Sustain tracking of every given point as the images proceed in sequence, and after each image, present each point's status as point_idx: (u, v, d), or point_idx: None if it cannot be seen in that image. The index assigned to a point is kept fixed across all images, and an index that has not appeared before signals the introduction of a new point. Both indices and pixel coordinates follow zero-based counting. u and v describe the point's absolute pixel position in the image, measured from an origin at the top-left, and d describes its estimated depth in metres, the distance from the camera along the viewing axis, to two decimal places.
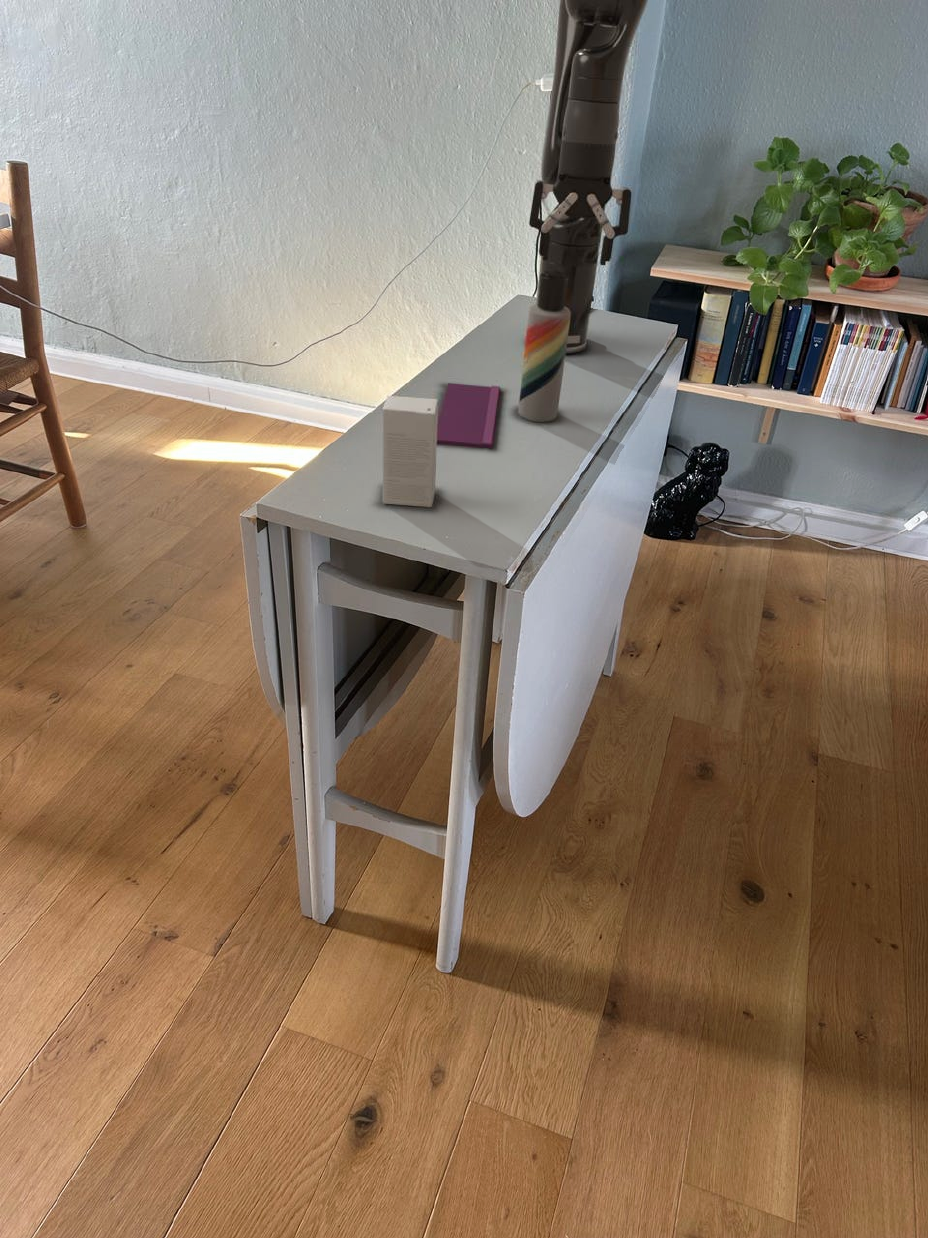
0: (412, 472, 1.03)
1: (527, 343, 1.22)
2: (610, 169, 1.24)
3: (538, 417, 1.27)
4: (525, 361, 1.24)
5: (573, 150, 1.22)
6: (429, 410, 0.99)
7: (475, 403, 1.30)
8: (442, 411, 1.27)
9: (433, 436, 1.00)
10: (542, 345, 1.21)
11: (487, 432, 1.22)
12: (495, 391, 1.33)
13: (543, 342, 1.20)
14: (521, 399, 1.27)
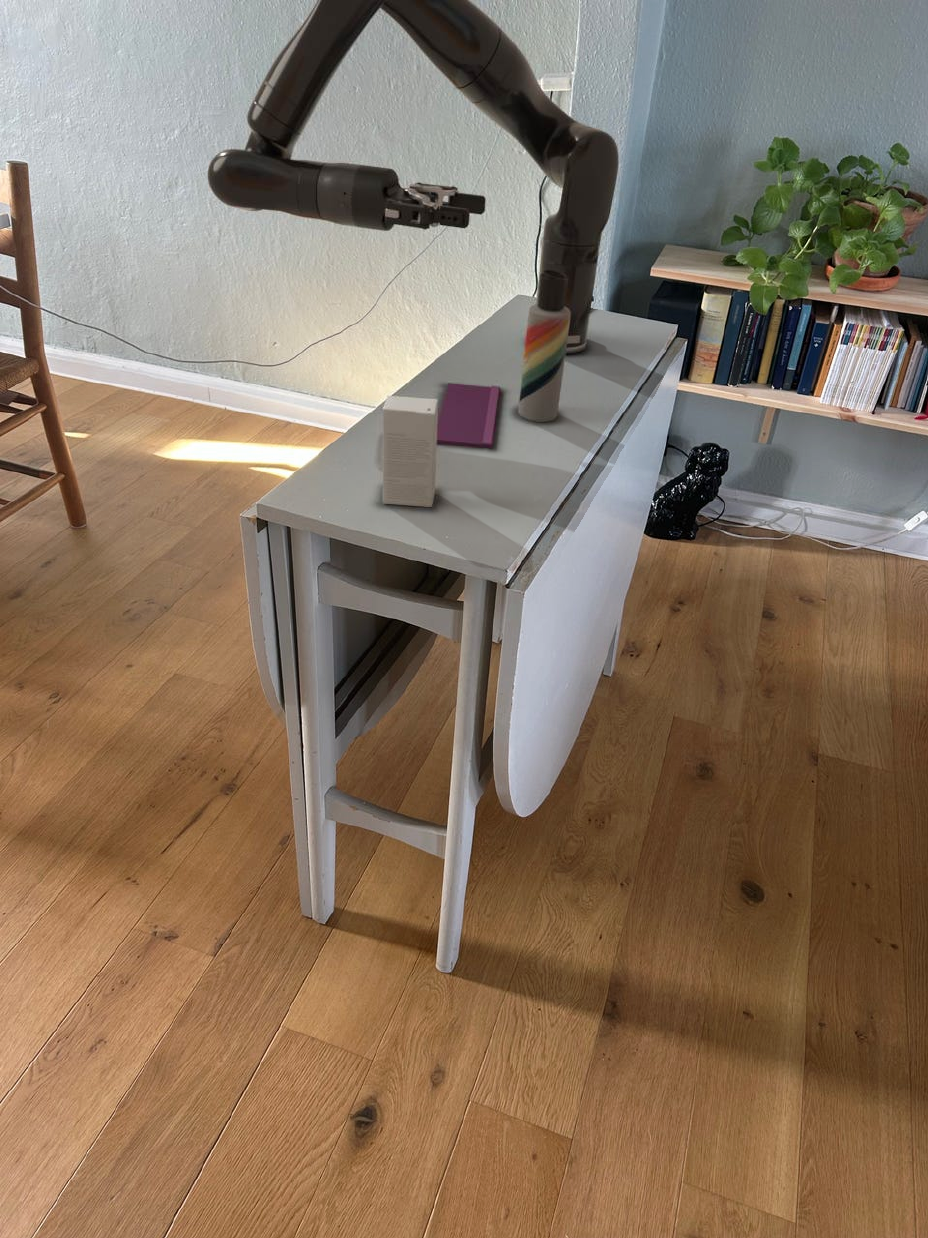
0: (412, 472, 1.03)
1: (527, 343, 1.22)
2: (374, 217, 1.16)
3: (538, 417, 1.27)
4: (525, 361, 1.24)
5: None
6: (429, 410, 0.99)
7: (475, 403, 1.30)
8: (442, 411, 1.27)
9: (433, 436, 1.00)
10: (542, 345, 1.21)
11: (487, 432, 1.22)
12: (495, 391, 1.33)
13: (543, 342, 1.20)
14: (521, 399, 1.27)
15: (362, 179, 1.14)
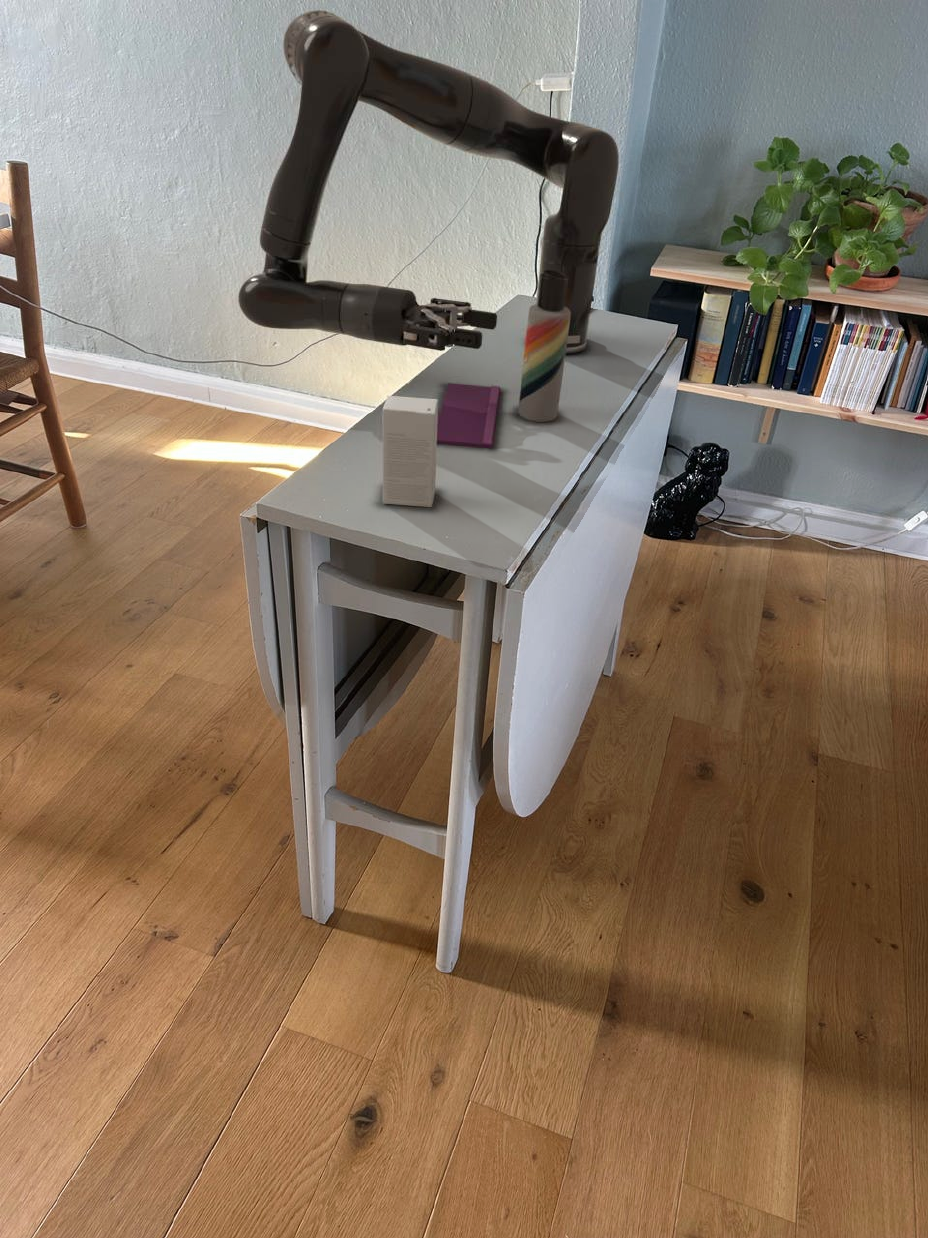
0: (412, 472, 1.03)
1: (527, 343, 1.22)
2: (394, 336, 1.25)
3: (538, 417, 1.27)
4: (525, 361, 1.24)
5: None
6: (429, 410, 0.99)
7: (475, 403, 1.30)
8: (442, 411, 1.27)
9: (433, 436, 1.00)
10: (542, 345, 1.21)
11: (487, 432, 1.22)
12: (495, 391, 1.33)
13: (543, 342, 1.20)
14: (521, 399, 1.27)
15: (382, 302, 1.23)
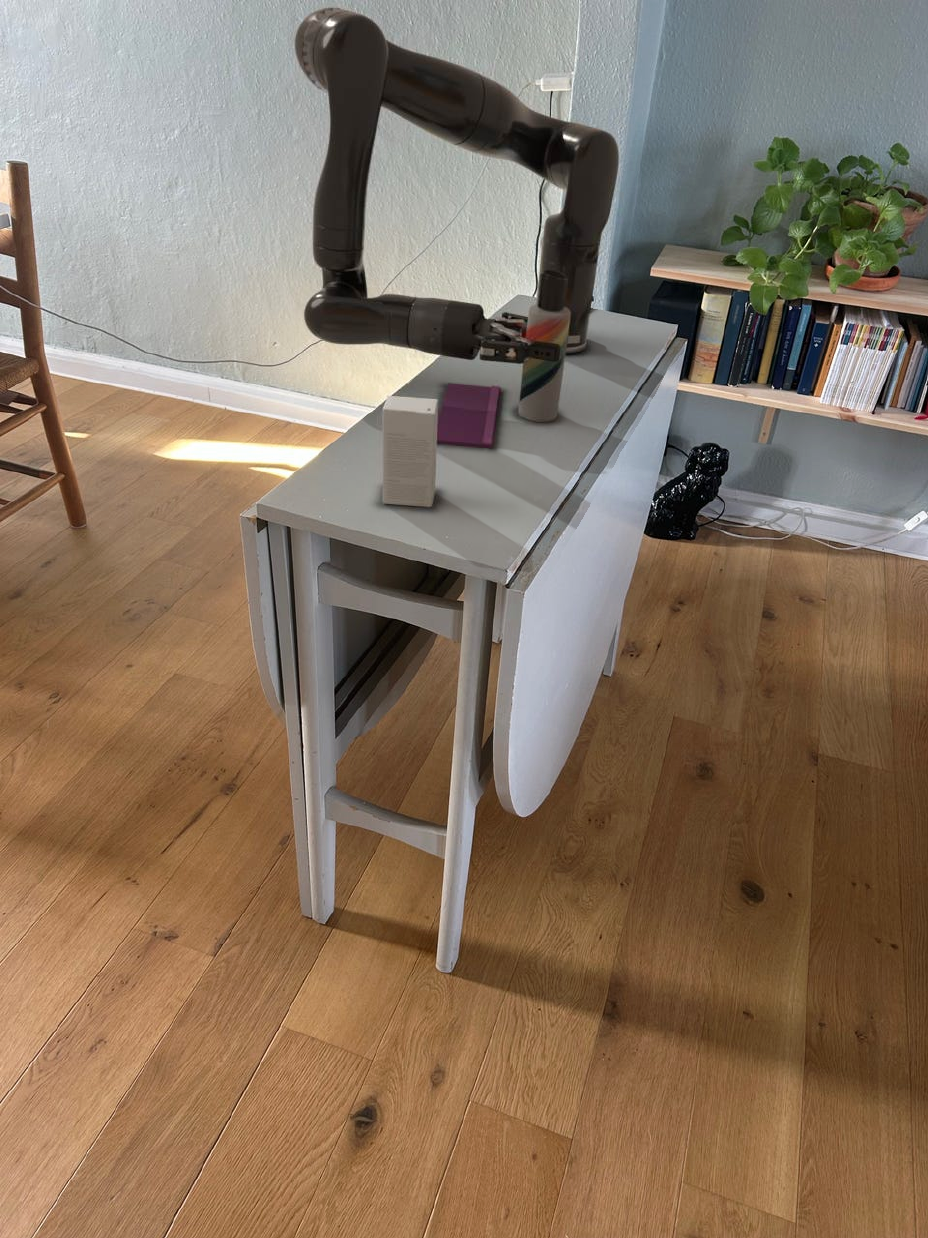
0: (412, 472, 1.03)
1: None
2: (462, 350, 1.23)
3: (538, 417, 1.27)
4: (525, 361, 1.24)
5: None
6: (429, 410, 0.99)
7: (475, 403, 1.30)
8: (442, 411, 1.27)
9: (433, 436, 1.00)
10: None
11: (487, 432, 1.22)
12: (495, 391, 1.33)
13: None
14: (521, 399, 1.27)
15: (452, 316, 1.22)
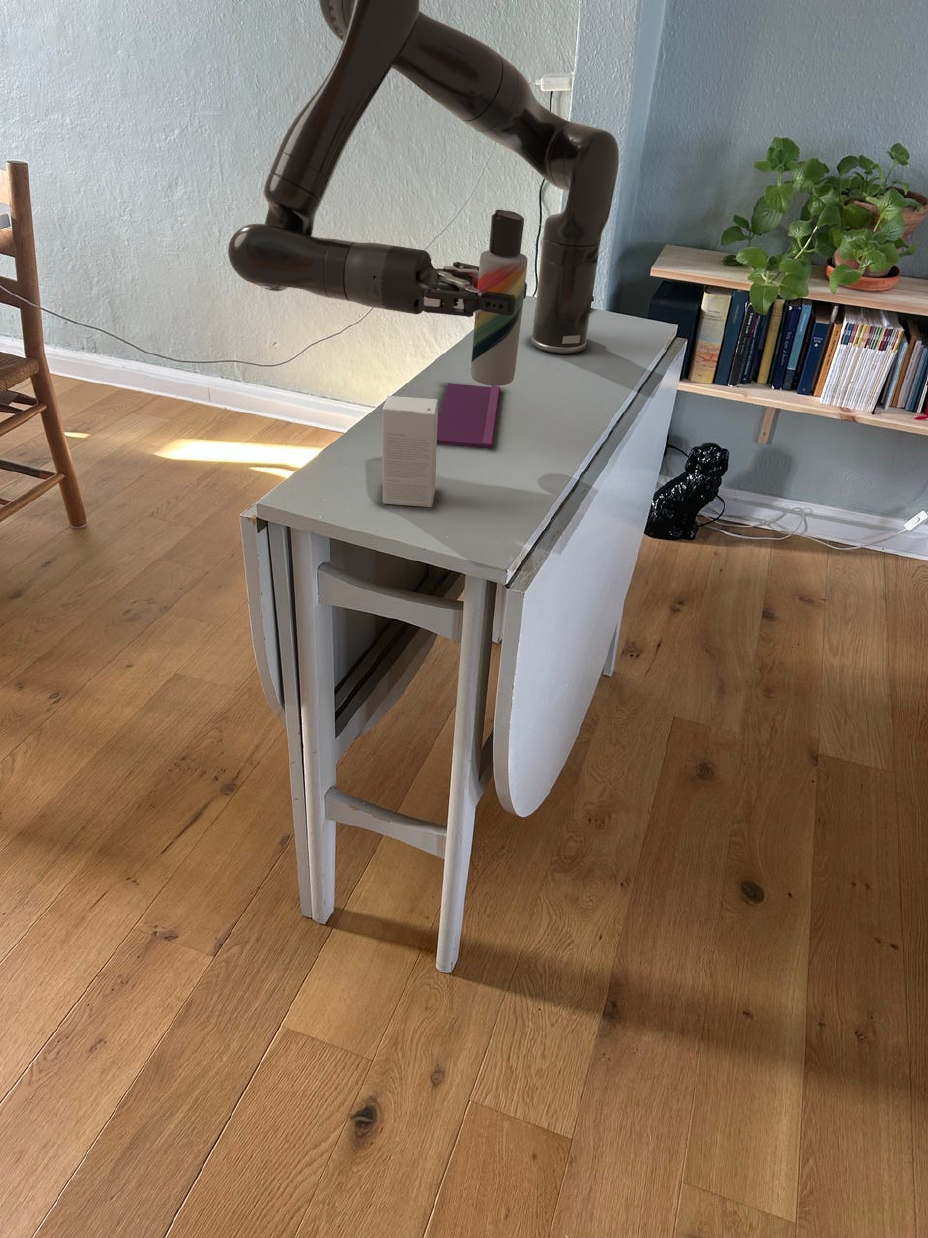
0: (412, 472, 1.03)
1: None
2: (406, 302, 1.09)
3: (492, 380, 1.12)
4: (477, 315, 1.09)
5: None
6: (429, 410, 0.99)
7: (475, 403, 1.30)
8: (442, 411, 1.27)
9: (433, 436, 1.00)
10: None
11: (487, 432, 1.22)
12: (495, 391, 1.33)
13: None
14: (473, 360, 1.12)
15: (393, 262, 1.07)
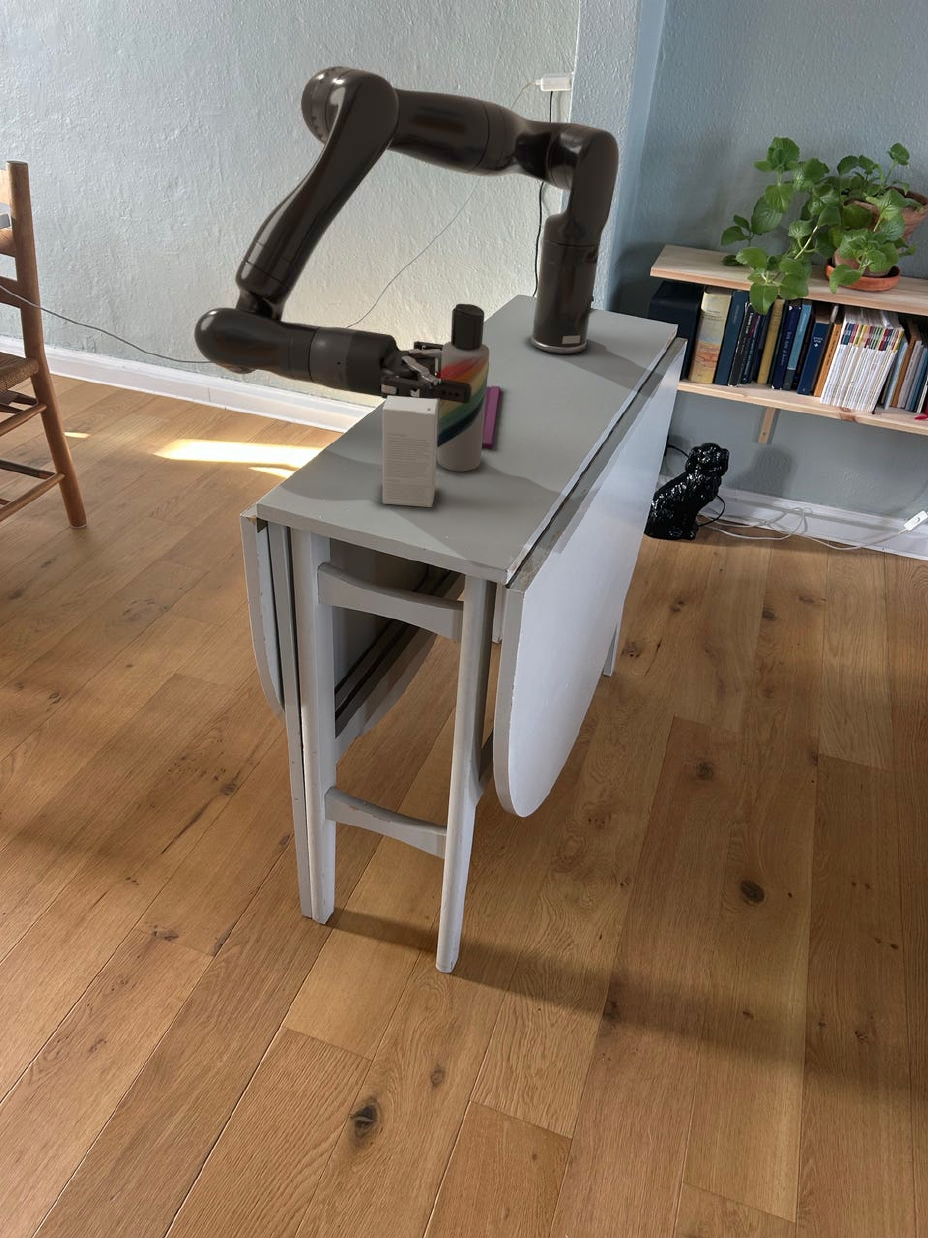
0: (412, 472, 1.03)
1: None
2: (371, 387, 1.09)
3: (457, 466, 1.13)
4: (440, 405, 1.10)
5: None
6: (429, 410, 0.99)
7: None
8: None
9: (433, 436, 1.00)
10: None
11: (487, 432, 1.22)
12: (495, 391, 1.33)
13: None
14: (439, 446, 1.13)
15: (357, 349, 1.07)
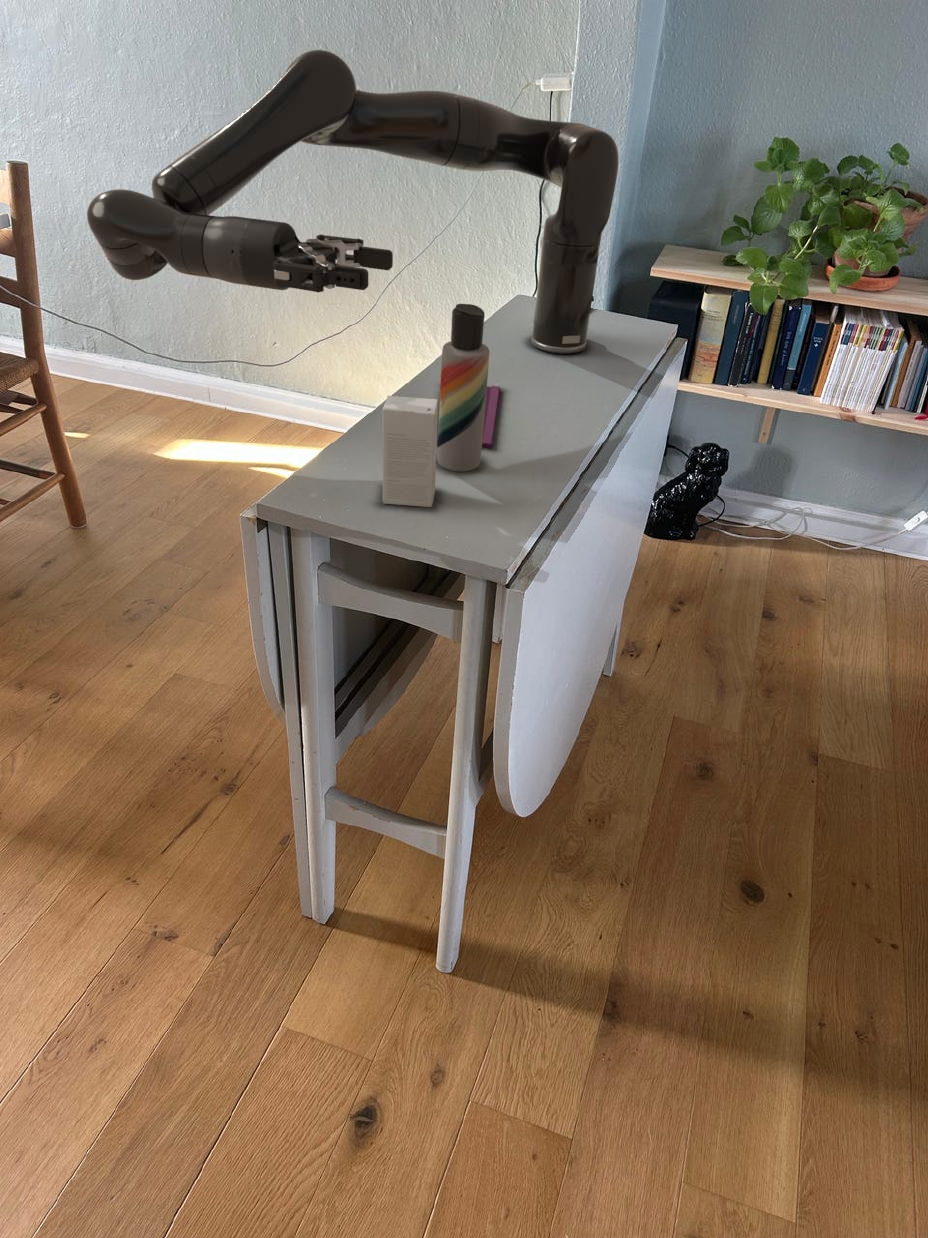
0: (412, 472, 1.03)
1: (441, 385, 1.08)
2: (267, 277, 1.04)
3: (457, 466, 1.13)
4: (440, 405, 1.10)
5: None
6: (429, 410, 0.99)
7: None
8: None
9: (433, 436, 1.00)
10: (457, 388, 1.07)
11: (487, 432, 1.22)
12: (495, 391, 1.33)
13: (458, 384, 1.07)
14: (439, 446, 1.13)
15: (251, 236, 1.03)
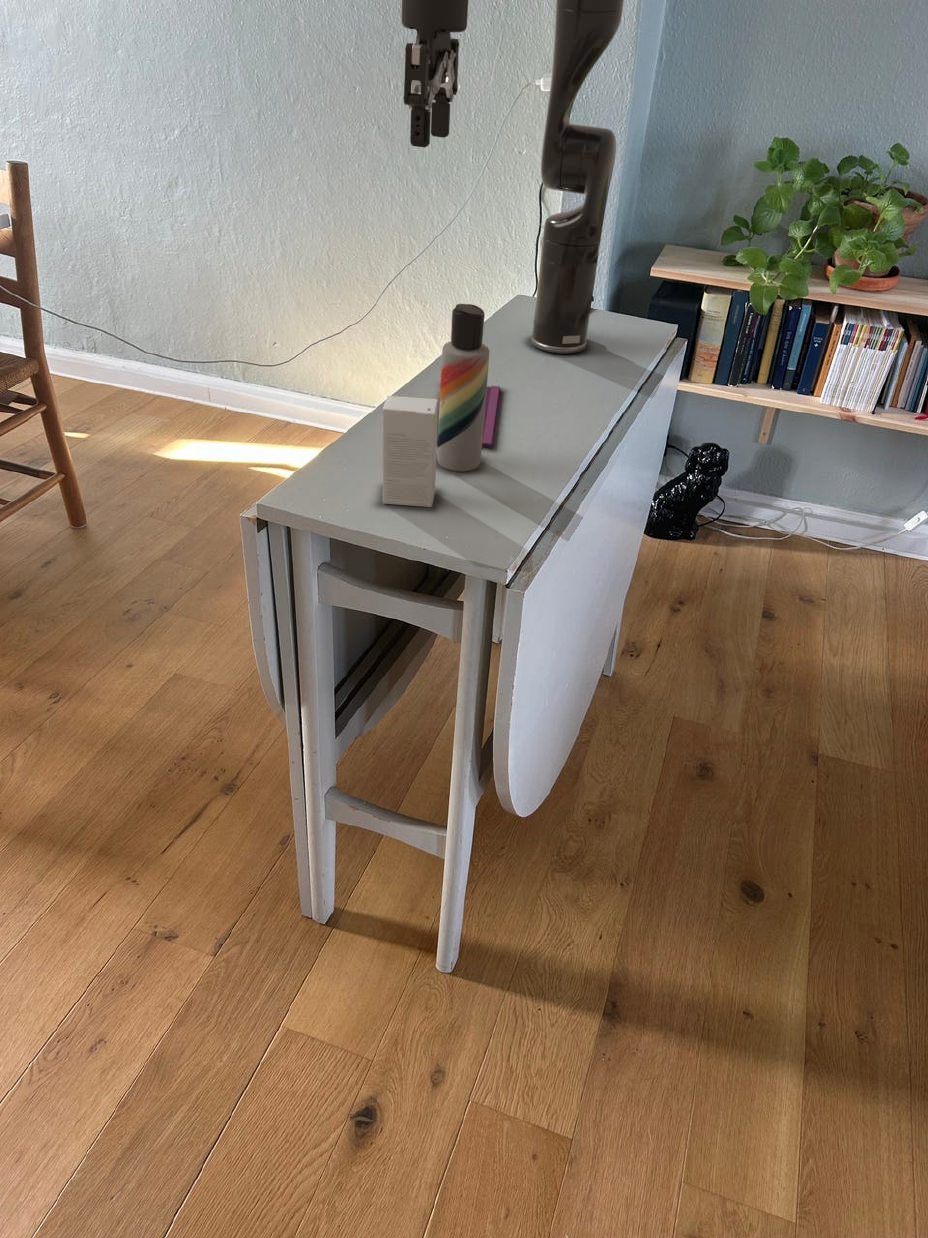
0: (412, 472, 1.03)
1: (441, 385, 1.08)
2: (412, 16, 1.00)
3: (457, 466, 1.13)
4: (440, 405, 1.10)
5: None
6: (429, 410, 0.99)
7: None
8: None
9: (433, 436, 1.00)
10: (457, 388, 1.07)
11: (487, 432, 1.22)
12: (495, 391, 1.33)
13: (458, 384, 1.07)
14: (439, 446, 1.13)
15: None
